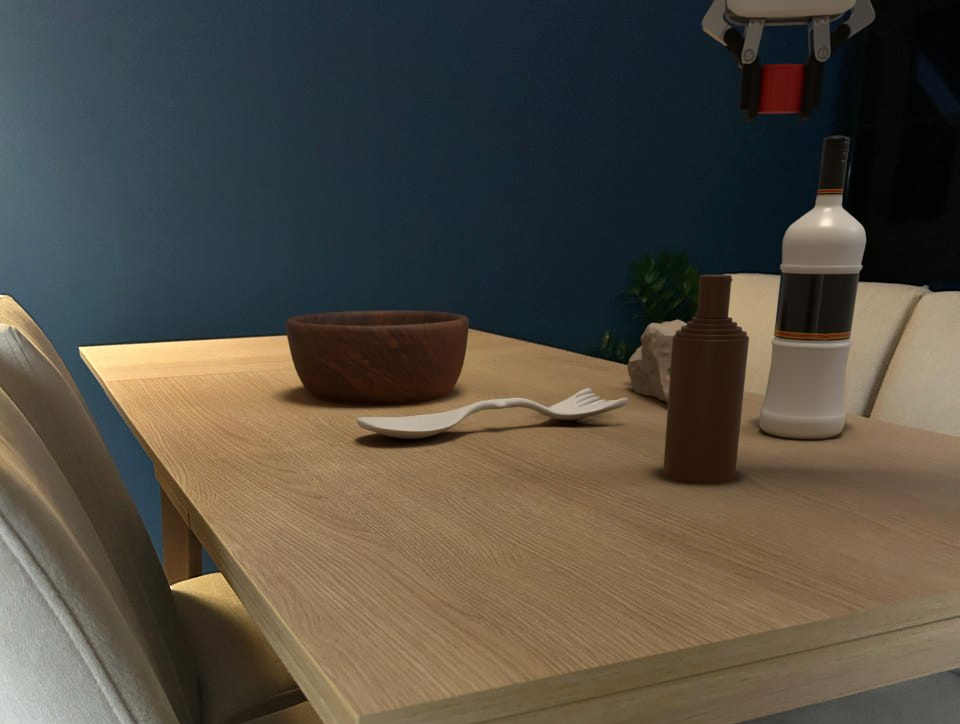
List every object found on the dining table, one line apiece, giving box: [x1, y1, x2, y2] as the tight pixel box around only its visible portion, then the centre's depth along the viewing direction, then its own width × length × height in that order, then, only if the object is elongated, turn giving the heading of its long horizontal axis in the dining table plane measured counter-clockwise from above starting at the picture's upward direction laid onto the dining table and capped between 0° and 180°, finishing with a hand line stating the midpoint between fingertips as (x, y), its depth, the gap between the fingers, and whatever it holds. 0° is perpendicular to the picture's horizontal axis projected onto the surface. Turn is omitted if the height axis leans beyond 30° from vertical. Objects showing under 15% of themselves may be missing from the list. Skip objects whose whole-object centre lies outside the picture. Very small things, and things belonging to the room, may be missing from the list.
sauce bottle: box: [662, 274, 750, 485], centre depth 85 cm, size 6×6×18 cm
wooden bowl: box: [284, 309, 470, 405], centre depth 135 cm, size 25×25×10 cm
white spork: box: [356, 387, 629, 440], centre depth 111 cm, size 9×32×3 cm, turn 116°
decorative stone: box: [627, 319, 687, 405], centre depth 130 cm, size 20×8×10 cm, turn 13°
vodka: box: [758, 135, 867, 440], centre depth 104 cm, size 9×9×30 cm
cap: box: [757, 63, 806, 115], centre depth 81 cm, size 4×4×3 cm
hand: (777, 116), depth 82 cm, fingers closed on cap, 3 cm apart
